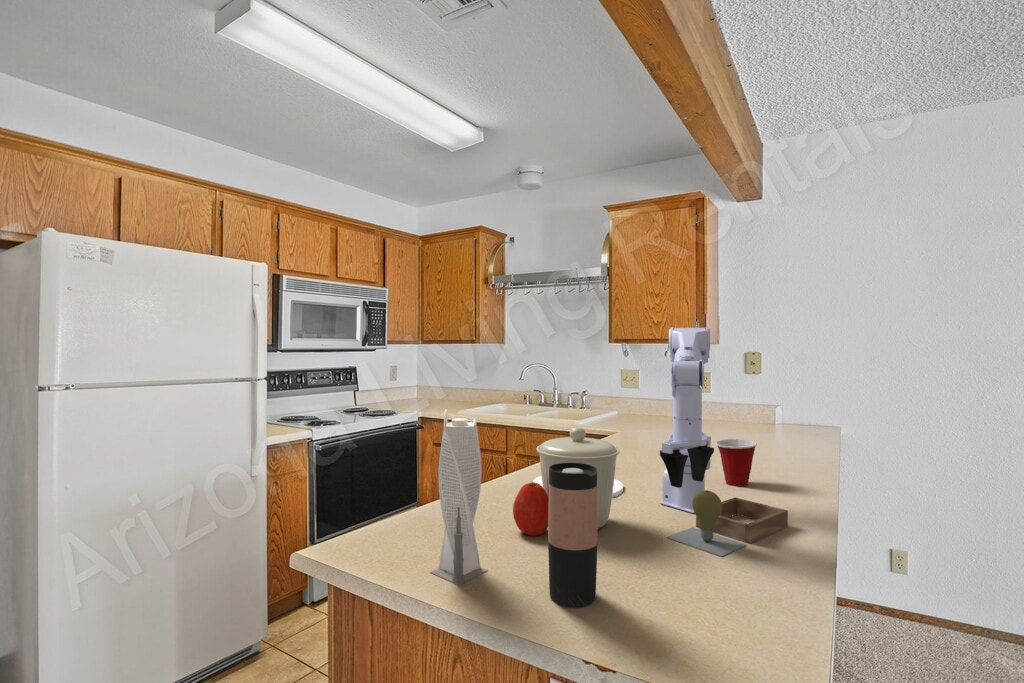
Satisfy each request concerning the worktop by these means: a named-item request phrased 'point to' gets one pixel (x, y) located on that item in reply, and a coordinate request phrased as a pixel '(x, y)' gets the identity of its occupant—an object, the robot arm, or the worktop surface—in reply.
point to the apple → (531, 509)
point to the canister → (586, 453)
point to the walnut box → (750, 532)
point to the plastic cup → (736, 460)
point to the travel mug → (572, 534)
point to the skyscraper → (459, 500)
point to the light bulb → (707, 512)
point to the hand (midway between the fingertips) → (687, 483)
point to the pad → (714, 546)
